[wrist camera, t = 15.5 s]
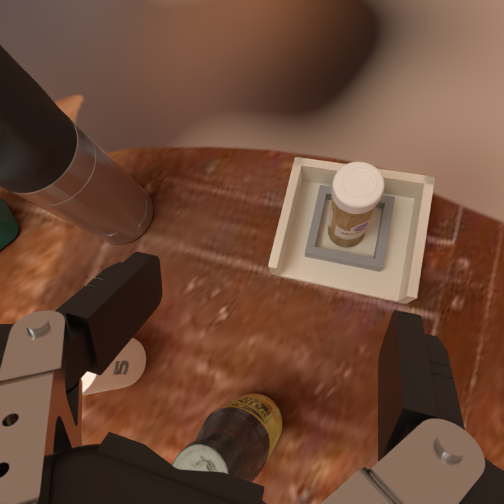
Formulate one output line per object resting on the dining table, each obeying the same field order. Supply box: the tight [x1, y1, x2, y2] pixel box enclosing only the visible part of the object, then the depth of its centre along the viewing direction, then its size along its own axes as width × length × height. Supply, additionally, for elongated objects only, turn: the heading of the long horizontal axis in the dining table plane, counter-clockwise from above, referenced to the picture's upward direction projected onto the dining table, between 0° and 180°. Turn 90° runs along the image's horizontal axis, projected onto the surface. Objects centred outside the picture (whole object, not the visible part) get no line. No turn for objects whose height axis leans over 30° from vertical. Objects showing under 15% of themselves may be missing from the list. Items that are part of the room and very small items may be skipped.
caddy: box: [268, 157, 435, 304], centre depth 43 cm, size 16×14×5 cm
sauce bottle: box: [172, 393, 282, 482], centre depth 32 cm, size 7×6×20 cm
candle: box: [81, 338, 146, 395], centre depth 39 cm, size 6×6×15 cm
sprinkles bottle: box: [328, 162, 384, 248], centre depth 39 cm, size 5×5×13 cm
